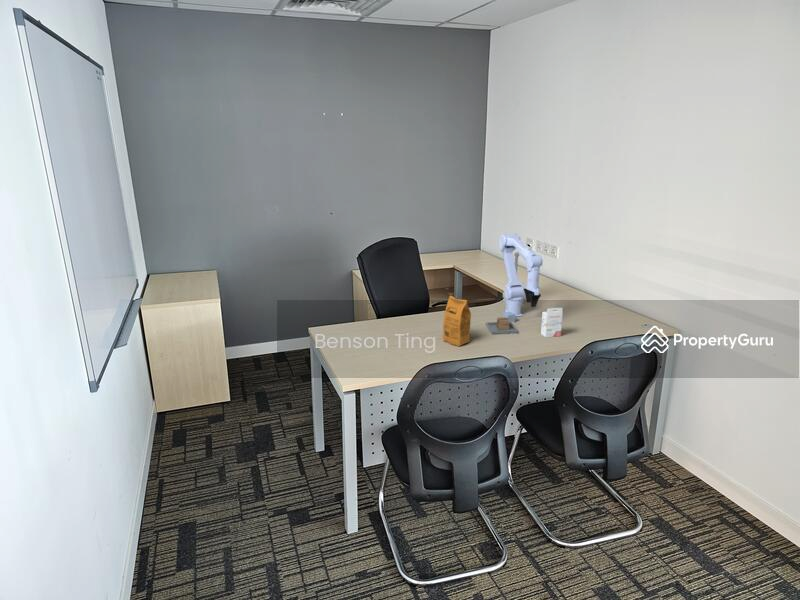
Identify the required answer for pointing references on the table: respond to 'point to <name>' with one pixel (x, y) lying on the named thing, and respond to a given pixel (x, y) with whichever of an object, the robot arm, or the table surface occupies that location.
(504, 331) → the tray
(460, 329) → the coffee package
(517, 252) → the flag stand
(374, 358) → the table surface
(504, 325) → the walnut cube
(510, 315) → the slate blue block
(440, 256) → the table surface
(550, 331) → the ink cartridge box
